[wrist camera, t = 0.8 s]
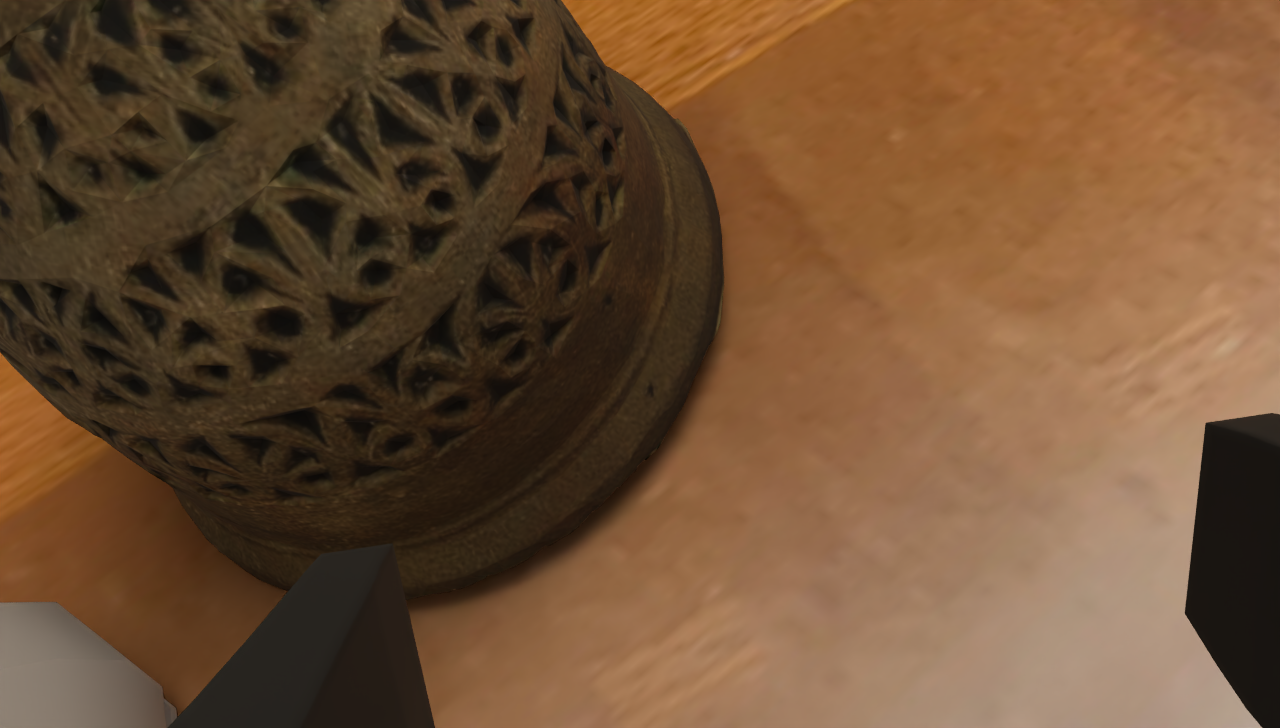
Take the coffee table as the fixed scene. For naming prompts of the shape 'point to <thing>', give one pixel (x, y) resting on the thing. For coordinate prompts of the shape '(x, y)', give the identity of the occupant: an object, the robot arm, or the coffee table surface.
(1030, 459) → the coffee table surface
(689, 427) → the coffee table surface
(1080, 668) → the coffee table surface
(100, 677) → the potion bottle
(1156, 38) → the coffee table surface
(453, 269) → the bell
